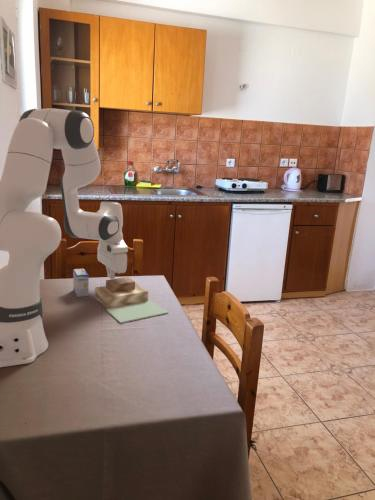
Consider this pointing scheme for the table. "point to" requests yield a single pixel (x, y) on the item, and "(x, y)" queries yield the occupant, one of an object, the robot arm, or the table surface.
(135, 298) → the beech block
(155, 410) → the table surface
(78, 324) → the table surface
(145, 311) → the sage green mat
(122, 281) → the walnut tile
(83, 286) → the medicine box
